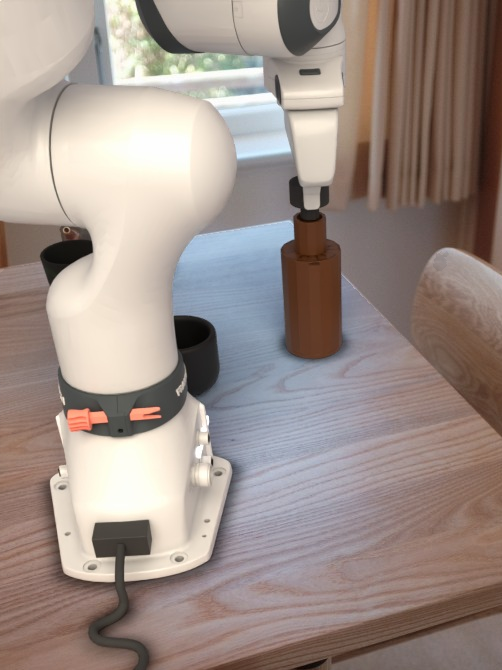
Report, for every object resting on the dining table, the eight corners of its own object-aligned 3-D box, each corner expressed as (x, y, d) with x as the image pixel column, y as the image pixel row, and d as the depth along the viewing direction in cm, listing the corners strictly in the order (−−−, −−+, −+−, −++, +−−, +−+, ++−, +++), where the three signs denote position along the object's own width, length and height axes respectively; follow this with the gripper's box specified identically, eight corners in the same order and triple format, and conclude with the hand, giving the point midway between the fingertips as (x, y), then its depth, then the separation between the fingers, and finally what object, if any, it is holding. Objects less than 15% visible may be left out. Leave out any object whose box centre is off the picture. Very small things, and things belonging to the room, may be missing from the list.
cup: (128, 342, 118) (113, 254, 111) (73, 359, 115) (53, 270, 107) (105, 319, 123) (88, 234, 116) (51, 335, 120) (30, 248, 112)
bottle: (345, 356, 115) (344, 226, 104) (288, 360, 114) (281, 230, 103) (337, 329, 120) (336, 203, 110) (283, 333, 120) (276, 206, 109)
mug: (202, 358, 115) (195, 307, 110) (234, 390, 109) (229, 337, 104) (112, 386, 110) (101, 333, 106) (141, 421, 104) (131, 367, 100)
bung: (331, 223, 105) (331, 187, 102) (292, 225, 105) (290, 189, 102) (327, 208, 109) (326, 172, 106) (288, 210, 108) (287, 175, 105)
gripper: (268, 46, 104) (275, 168, 113) (282, 97, 88) (289, 234, 97) (323, 43, 104) (325, 165, 113) (346, 94, 89) (347, 230, 98)
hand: (308, 197), depth 105 cm, fingers closed on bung, 4 cm apart
